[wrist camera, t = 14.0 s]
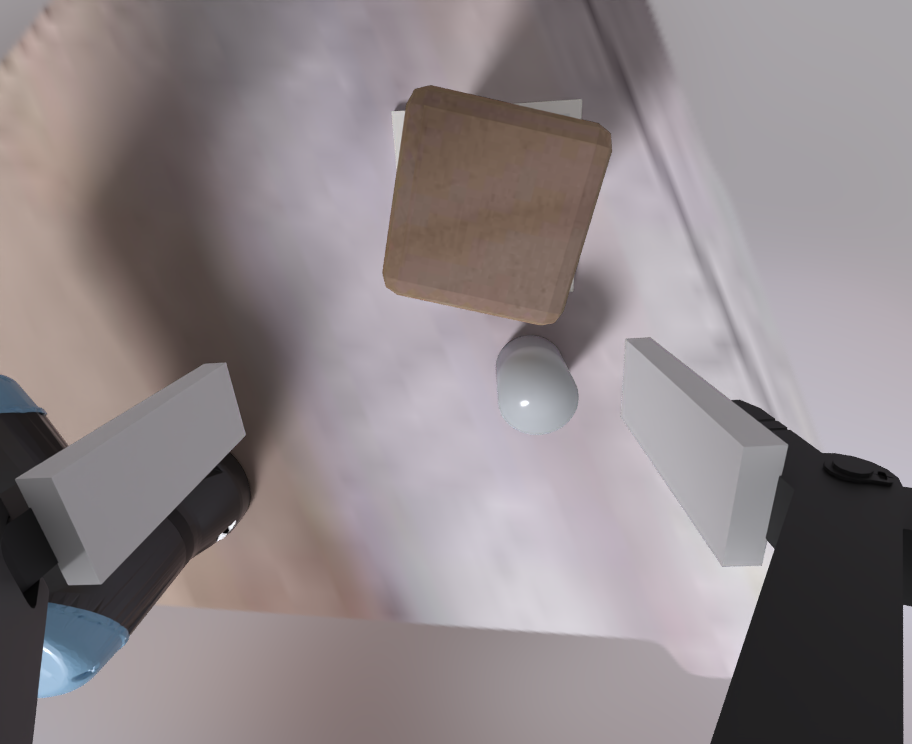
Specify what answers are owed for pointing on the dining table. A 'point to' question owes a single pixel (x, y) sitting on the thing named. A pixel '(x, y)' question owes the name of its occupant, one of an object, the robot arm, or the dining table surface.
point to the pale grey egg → (534, 386)
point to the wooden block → (492, 204)
